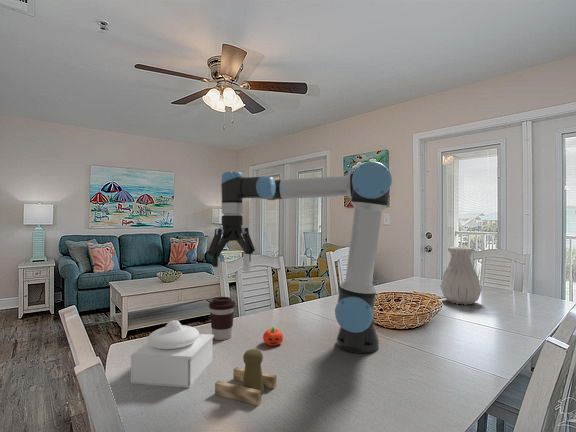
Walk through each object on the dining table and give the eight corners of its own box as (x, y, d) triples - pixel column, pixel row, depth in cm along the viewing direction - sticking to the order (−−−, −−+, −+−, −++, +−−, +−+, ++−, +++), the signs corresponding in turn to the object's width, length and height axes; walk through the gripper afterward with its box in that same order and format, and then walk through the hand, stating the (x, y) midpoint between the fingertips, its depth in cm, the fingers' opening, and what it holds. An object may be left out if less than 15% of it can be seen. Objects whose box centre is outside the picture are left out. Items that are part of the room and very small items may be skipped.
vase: (446, 306, 177) (446, 249, 177) (436, 297, 197) (436, 245, 197) (487, 308, 174) (488, 250, 174) (473, 299, 194) (473, 246, 194)
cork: (242, 386, 94) (242, 346, 94) (264, 385, 94) (264, 346, 94) (241, 398, 88) (241, 355, 88) (264, 397, 88) (264, 355, 88)
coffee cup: (229, 342, 126) (229, 302, 126) (204, 340, 128) (204, 301, 128) (238, 333, 136) (238, 296, 136) (215, 331, 138) (215, 295, 138)
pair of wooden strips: (276, 386, 94) (276, 375, 94) (258, 405, 84) (258, 393, 84) (236, 377, 99) (236, 366, 99) (214, 394, 90) (215, 383, 90)
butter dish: (161, 358, 113) (162, 310, 113) (213, 361, 110) (214, 312, 110) (130, 384, 95) (130, 327, 95) (191, 389, 93) (191, 331, 93)
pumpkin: (286, 344, 126) (288, 328, 125) (271, 350, 120) (273, 333, 120) (273, 337, 131) (274, 321, 130) (257, 343, 125) (259, 326, 124)
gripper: (250, 214, 135) (250, 268, 135) (196, 215, 116) (196, 277, 116) (263, 214, 130) (264, 270, 130) (209, 214, 111) (210, 279, 111)
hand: (232, 273), depth 123 cm, fingers open, 13 cm apart
